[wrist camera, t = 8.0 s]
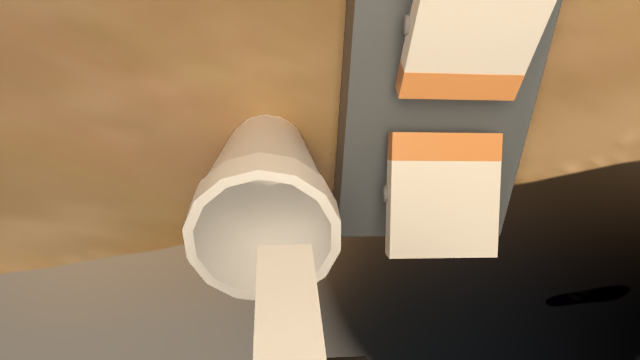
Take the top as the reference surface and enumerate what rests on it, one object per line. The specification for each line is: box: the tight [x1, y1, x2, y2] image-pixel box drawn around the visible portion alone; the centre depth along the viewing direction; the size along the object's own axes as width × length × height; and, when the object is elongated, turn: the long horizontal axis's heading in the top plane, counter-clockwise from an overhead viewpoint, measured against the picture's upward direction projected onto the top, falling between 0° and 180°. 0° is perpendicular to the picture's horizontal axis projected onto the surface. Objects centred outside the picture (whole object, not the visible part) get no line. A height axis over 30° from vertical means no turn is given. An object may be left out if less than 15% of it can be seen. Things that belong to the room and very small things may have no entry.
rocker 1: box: [395, 0, 557, 101], centre depth 30 cm, size 8×9×2 cm
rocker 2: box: [382, 132, 503, 259], centre depth 35 cm, size 8×9×2 cm
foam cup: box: [182, 114, 341, 300], centre depth 34 cm, size 10×9×13 cm
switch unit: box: [334, 0, 562, 237], centre depth 36 cm, size 14×23×6 cm, turn 177°
